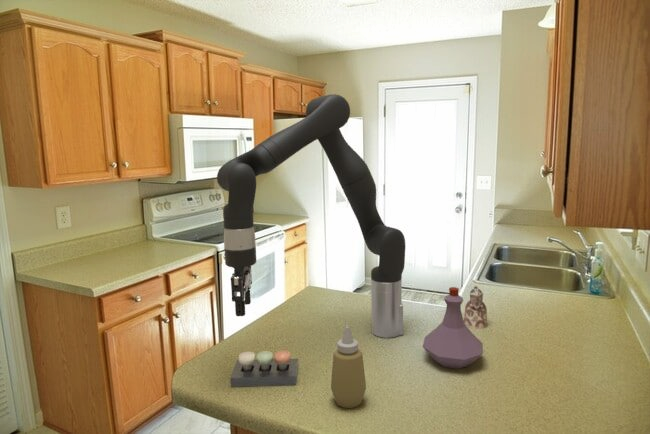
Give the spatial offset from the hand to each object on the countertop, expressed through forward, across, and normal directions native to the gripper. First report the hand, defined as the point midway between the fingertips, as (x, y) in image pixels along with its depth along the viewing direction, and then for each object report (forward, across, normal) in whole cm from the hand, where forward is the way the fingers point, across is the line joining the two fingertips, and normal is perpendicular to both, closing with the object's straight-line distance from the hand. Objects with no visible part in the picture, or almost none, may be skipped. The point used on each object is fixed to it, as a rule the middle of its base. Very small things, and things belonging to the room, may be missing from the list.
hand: (243, 309), depth 111 cm
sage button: (+16, 0, -5) cm, 17 cm away
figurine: (+18, +29, -68) cm, 76 cm away
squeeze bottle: (+18, -12, -25) cm, 33 cm away
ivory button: (+16, 0, 0) cm, 16 cm away
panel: (+18, 0, -5) cm, 19 cm away
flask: (+18, +6, -54) cm, 58 cm away
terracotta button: (+16, 0, -9) cm, 18 cm away
